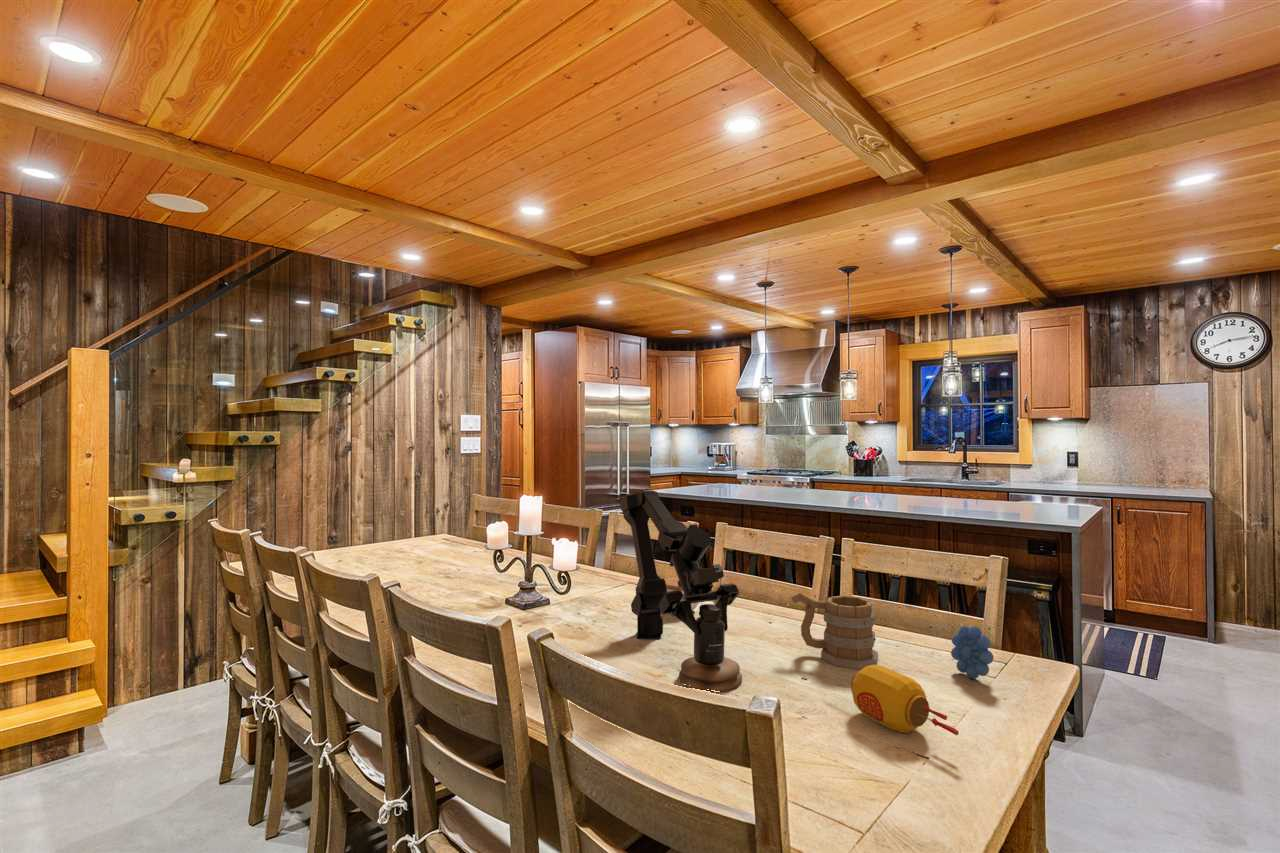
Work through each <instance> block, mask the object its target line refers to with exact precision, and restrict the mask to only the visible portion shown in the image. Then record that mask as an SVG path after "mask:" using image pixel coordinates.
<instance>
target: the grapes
mask: <svg viewBox="0 0 1280 853" xmlns="http://www.w3.org/2000/svg"><path fill="white" fill-rule="evenodd" d="M951 643H952V644H953V646H954V647H953V648H952V649H951V651H950V655H951V658H953V660H955V661H957V662H956V669H957V671H959V672H960V673H963V674H966V676H967V677H968V678H969V679H971V678H972V679H971V680H977V678H979V676H980V677H985V676H987V675H988V674H989V672H990V666H989V665H990V664H991V663H993V661H994V655H993V652H991V651H990V650H989V649H990V648H991V640H990V638H989V637H988V636H986V635H983V632H982V630H981V628H980V627H978V626H976V625H974V626H973V625H972V626H971V627H969V626H968V625H961V626H960V627H959V628H958V632H957V633H955V634H953V635H952V638H951Z"/></svg>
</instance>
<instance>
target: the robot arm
mask: <svg viewBox="0 0 1280 853" xmlns="http://www.w3.org/2000/svg"><path fill="white" fill-rule="evenodd" d="M619 503H620V504H619V505H620V506H619V507H620V510H621V512H622V515H623V516H622V517H623V518H624V520H625V521H626V522H627V524H628V525H629V526H630V528H631V533H632V534H631V535H632V540H633V546H634V552H635V558H636V564H637V569H638V576H639V578H638V581H637V584H636V586H635V596H634V597H633V600H632V602H631V604H630V608H631V613H633V615H636V616H637V619H636V620H637V621H636V622H637V625H636V626H637V633H636V639H655V640H656V639H657V640H658V639H662V635H663V633H664V617H663V615H670V614H671V616H672V617H675V618H677V619H678V620H679V621H681V622H682V623H683V624H684V625H685V626H686V627H687V628H689V629H690V630H691V631H692V633H693V634H694V633H695V634H696V635H697V636H699V635H700V630H699V627H698V624H697V622H696V617H695V614H694V613H693V612H694V611H693V612H692V609H691V603H698V602H699V603H704V602H705V603H706V602H713V605H717V606H719V607H721V616H720V618H721V619H722V620H723V621H724V623H725V632H727V631H728V629H729V628H728V606H730V605H732V604H733V603H734V602H735V600H736V599H737V597H738V596H739V594H740V589H739V587H738V586H737V585H736V584H735V583H726V584H725V583H724V584H720V585H719V587H718V588H717V590H716V591H710V590H711V589H713V587H714V585H713V584H714V583H719V580H720V579H723V578H724V577H725V576H724V574H725V573H724V569H723V567H722V565H721V564H720V563H718V564H717V563H716V564H712V565H710V566H709V567H708V568H707V567H706V568H704V567H703V568H701V566H700V564H699V562H698V561H700V560H701V559H702V558H703V557H704V554H705V553H706V551H707V550H708V549H709V546H710V545H711V543H712V536H711V535H710V534H709V533H708V532H707V531H706V530H705V529H703V528H700V527H699V526H698V524H697V523H696V524H695V523H694V524H689V525H688V526H686V525H685V523H683V522H682V521H679V520H677V519H675V518H674V517H673V516H672V514H671V513H670V512H669V510H668V509H667V507H666V506H665V505H664V503H663V502H662V500H661V499H660V497H659V494H658V492H657V491H655V490H641V491H638V492H637V493H634V494H632V493H631V494H624V496H623V498H621V499H620V502H619ZM650 520H651V522H652V523H653V525H654V527H655V528H656V529H657V531H658V537H657V540H658V543H659V545H660V547H661V548H662V550H663V551H664V552H672V551H674V552H673V554H672V555H671V558H670V560H669V567H674V570H675V572H676V575H677V576H676V577H678V578H679V582H678V586H679V587H682V589H683V592H684V594H682V592H681V591H680V590H677V591H669V592H667V589H666V582H665V580H664V579H665V578H661V577H660V575H659V574H658V573H657V568H656V562H655V561H656V560H655V557H654V550H653V545H652V540H651V534H650V528H649V521H650Z"/></svg>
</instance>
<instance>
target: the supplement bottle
mask: <svg viewBox="0 0 1280 853" xmlns="http://www.w3.org/2000/svg"><path fill="white" fill-rule="evenodd" d="M698 610H699V611H698V617H697V618H695V620H696V622H697V624H698V627H699V630H700V635H699V636H697V635H696V634H695V633H694V632H693V657H694V659H695V661H696V662H698V663H700V664H703V665H718V664H721V663H722V662H723V661H724V657H725V642H726V641H725V639H726V637H725V636H726V635H725V632H726V631H725V623H724V621H723V620H722V619H721V618H720V616H721V607H719V606H717V605H714V604H711V603H710V604H709V603H708V604H707V603H706V604H701V605H699V608H698Z"/></svg>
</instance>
